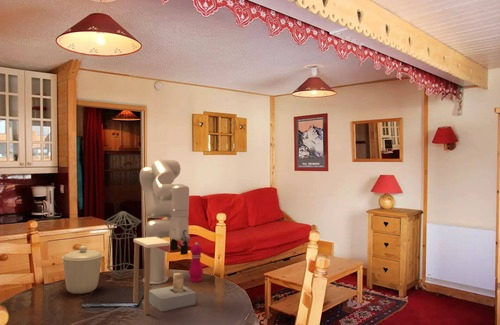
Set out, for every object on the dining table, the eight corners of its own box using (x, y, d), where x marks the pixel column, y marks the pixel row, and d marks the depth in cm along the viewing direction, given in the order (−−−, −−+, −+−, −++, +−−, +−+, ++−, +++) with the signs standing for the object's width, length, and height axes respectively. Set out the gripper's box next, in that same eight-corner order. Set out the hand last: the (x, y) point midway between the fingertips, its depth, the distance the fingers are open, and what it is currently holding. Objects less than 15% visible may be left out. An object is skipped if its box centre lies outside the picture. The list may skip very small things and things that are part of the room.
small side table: (131, 304, 169) (133, 238, 169) (153, 300, 175) (155, 236, 175) (145, 315, 157) (146, 244, 157) (168, 310, 163) (170, 242, 163)
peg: (171, 301, 174) (171, 274, 175) (180, 299, 177) (180, 272, 177) (175, 304, 171) (176, 276, 171) (184, 302, 174) (185, 274, 174)
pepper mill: (200, 283, 202) (200, 243, 202) (186, 281, 204) (187, 243, 204) (204, 279, 209) (205, 241, 209) (191, 277, 211) (192, 240, 211)
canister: (60, 298, 174) (61, 251, 174) (61, 287, 191) (62, 243, 191) (103, 294, 181) (104, 248, 182) (101, 283, 198) (102, 241, 198)
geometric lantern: (143, 276, 211) (143, 211, 211) (115, 283, 200) (116, 214, 199) (127, 270, 222) (128, 208, 221) (101, 276, 211) (101, 211, 210)
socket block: (147, 301, 173) (148, 290, 173) (180, 295, 183) (181, 284, 183) (161, 311, 162) (161, 299, 162) (195, 304, 171) (195, 292, 171)
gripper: (163, 211, 179) (162, 249, 179) (181, 216, 165) (180, 257, 165) (178, 210, 183) (177, 247, 183) (197, 215, 170) (195, 255, 170)
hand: (178, 252), depth 174 cm, fingers open, 9 cm apart
